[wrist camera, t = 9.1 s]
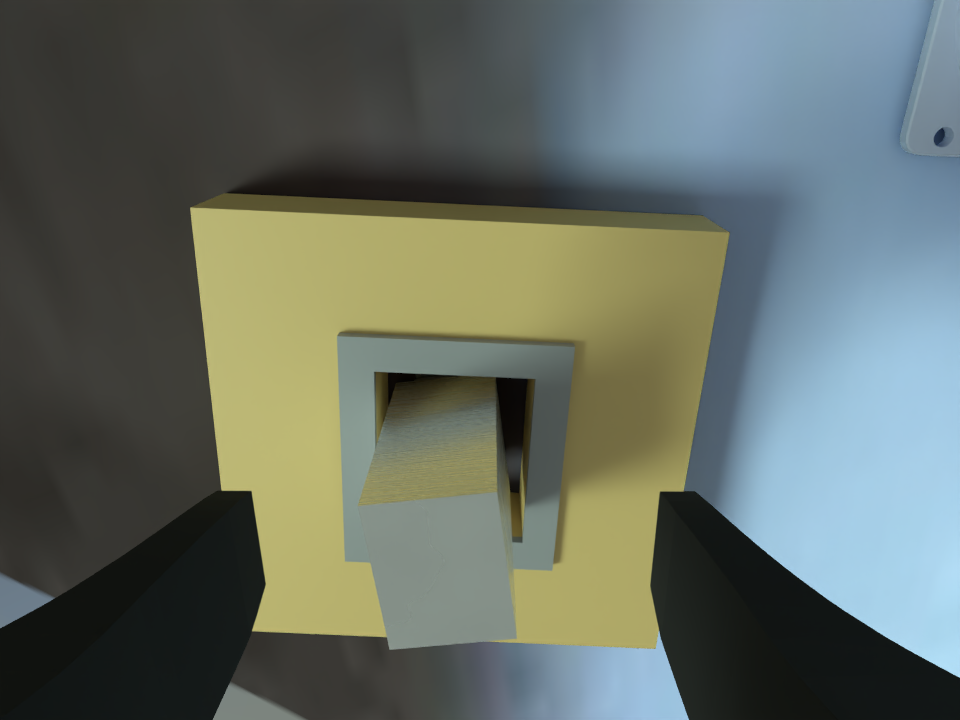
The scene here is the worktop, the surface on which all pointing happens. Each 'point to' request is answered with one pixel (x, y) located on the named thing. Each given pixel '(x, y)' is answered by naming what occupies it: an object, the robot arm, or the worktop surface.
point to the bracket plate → (465, 352)
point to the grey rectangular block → (441, 515)
